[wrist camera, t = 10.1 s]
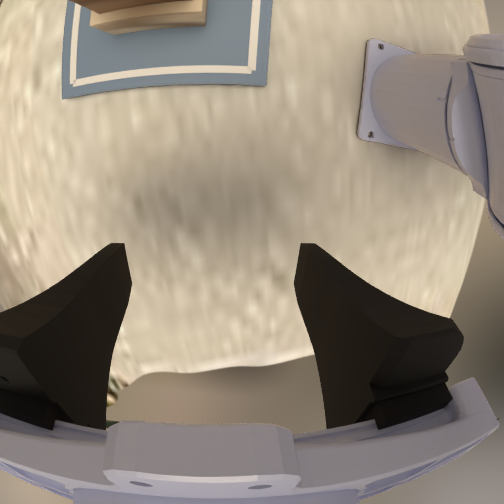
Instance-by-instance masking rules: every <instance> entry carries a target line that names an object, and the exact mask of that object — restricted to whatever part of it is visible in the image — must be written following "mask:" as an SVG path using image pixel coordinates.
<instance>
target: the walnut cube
mask: <svg viewBox="0 0 504 504" xmlns="http://www.w3.org/2000/svg"><path fill="white" fill-rule="evenodd" d="M69 1H72V2H74V3H76V4H79V5H81V6H83V7H85V8H88V9H90V10H92V11H94V12H96V13H98V14H102V13H106V12H111V11H115V10H120V9H125V8H131V7H136V6H143V5H149V4H157V3H166V2H176V1H190V0H69Z"/></svg>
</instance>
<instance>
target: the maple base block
mask: <svg viewBox="0 0 504 504" xmlns="http://www.w3.org/2000/svg"><path fill="white" fill-rule="evenodd" d="M207 7H208V0H190V1H176V2H166V3H157V4H149V5H143V6H136V7H131V8H125V9H120V10H115V11H111V12H106V13H102V14H98V13H96V12H94V11H92V10H91V18H90V26H91V27H94V28H97V29H99V30H102V31H105V32H107V33H110V34H113V35H118V34H124V33H130V32H137V31H145V30H153V29H164V28H177V27H200V26H206V19H207Z"/></svg>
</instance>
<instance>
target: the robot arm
mask: <svg viewBox="0 0 504 504" xmlns="http://www.w3.org/2000/svg"><path fill="white" fill-rule="evenodd" d="M378 44H380V45H381V47H382V49H381V50H380V49H379V48H378ZM463 52H464V55H451V54H417V53H414V52H412V51H409V50H406V49H404V48H401V47H398V46H395V45H393V44H390V43H387V42H384V41H380V40H377V39H370V40H368V41H367V49H366V62H365V73H364V83H363V92H362V101H361V109H360V116H359V124H358V131H357V135H358V137H359V138H360V139H362V140H366V141H372V142H378V143H383V144H388V145H393V146H398V147H403V148H408V149H412V150H417V151H421V152H423V153H425V154H427V155H429V156H431V157H433V158H435V159H437V160H439V161H441V162H443V163H445V164H447V165H449V166H451V167H453V168H454V169H456V170H458V171H460V172H462V173H463V174H465V175H467V176H468V177H469V178H470V180H471V182H472V186H473V191H475V192H476V193H478V194H479V195H481V196H482V197H484V198H485V199H487V213H488V218H489V221H490V223H491V225H492V227H493V228H494V230H495V231H496V232H497V233H498V234H499V236H501V237H502V238H503V239H504V34H481V35H474V36H471V37H470V38H469V40H468V42H467V44H466V45H464V46H463ZM369 132H372V135H371V137H368V133H369ZM131 287H132V280H131V276H130V271H129V266H128V261H127V256H126V250H125V245H124V243H110V244H109V245H107V246H106V247H104V248H103V249H102V250H100V251H99V252H98V253H96V254H95V255H94V256H93V257H91V258H90V259H89V260H87V261H86V262H85V263H84V264H82V265H81V266H80V267H79V268H77V269H76V270H74V271H73V272H72V273H70V274H69V275H68V276H66V277H65V278H64V279H62V280H61V281H60V282H58V283H57V284H55V285H54V286H52V287H50V288H49V289H47V290H46V291H44V292H42V293H41V294H39V295H37V296H35V297H33V298H31V299H29V300H27V301H26V302H24V303H22V304H19V305H17V306H15V307H13V308H10V309H8V310H6V311H3V312H1V313H0V469H2V470H3V471H5V472H7V473H9V474H11V475H13V476H16V477H18V478H20V479H22V480H24V481H26V482H28V483H30V484H33V485H35V486H37V487H40V488H43V489H45V490H47V491H50V492H52V493H55V494H57V495H60V496H63V497H66V498H69V499H72V500H74V501H73V504H360V503H359V500H362V499H365V498H368V497H371V496H374V495H377V494H380V493H382V492H385V491H388V490H390V489H393V488H395V487H398V486H400V485H402V484H405V483H407V482H409V481H412V480H414V479H416V478H418V477H420V476H423V475H425V474H427V473H429V472H431V471H433V470H435V469H437V468H439V467H441V466H443V465H445V464H447V463H449V462H450V461H452V460H454V459H456V458H458V457H460V456H461V455H463V454H464V453H466V452H467V451H468V450H470V449H471V448H472V447H474V446H475V445H477V444H478V443H479V442H481V441H482V440H483V439H485V438H486V437H487V436H488V435H490V434H491V433H492V432H493V431H494V430H495V429H497V428H498V427H499V423H498V421H497V419H496V417H495V415H494V413H493V411H492V409H491V407H490V405H489V403H488V402H487V400H486V398H485V396H484V394H483V392H482V391H481V389H480V387H479V385H478V383H477V382H476V380H475V378H473V377H472V378H469V379H467V380H464V381H462V382H460V383H457V384H455V385H453V386H452V387H451V388H449V389H448V388H447V386H446V384H445V382H447V381H448V376H447V374H446V373H445V370H446V369H447V368H448V367H449V365H450V364H451V363H452V361H453V360H454V359H455V357H456V356H457V355H458V352H459V351H460V350H461V347H462V344H463V341H464V336H463V335H462V333H461V331H460V330H459V328H458V327H457V326H456V324H455V323H454V322H453V320H452V319H450V318H446V317H443V316H439V315H436V314H432V313H429V312H426V311H424V310H421V309H418V308H416V307H413V306H411V305H408V304H406V303H404V302H402V301H400V300H398V299H396V298H394V297H391V296H390V295H388V294H386V293H384V292H382V291H381V290H379V289H377V288H375V287H374V286H372V285H370V284H369V283H367V282H366V281H364V280H363V279H361V278H360V277H359V276H357V275H356V274H354V273H353V272H352V271H350V270H349V269H348V268H346V267H345V266H344V265H342V264H341V263H340V262H339V261H337V260H336V259H335V258H333V257H332V256H331V255H330V254H328V253H327V252H326V251H325V250H323V249H322V248H321V247H319V246H318V245H316V244H315V243H301V245H300V251H299V257H298V263H297V268H296V274H295V280H294V287H295V292H296V297H297V302H298V305H299V308H300V311H301V314H302V317H303V320H304V323H305V326H306V328H307V331H308V334H309V337H310V340H311V343H312V346H313V349H314V353H315V357H316V361H317V367H318V371H319V376H320V382H321V388H322V394H323V401H324V409H325V417H326V427H327V429H325V430H320V431H313V432H307V433H300V434H292V432H291V430H289V429H287V428H284V427H281V426H278V425H275V424H268V423H267V424H266V423H237V424H185V423H164V422H151V421H121V422H119V423H117V424H115V425H112V426H110V427H109V428H108V431H106V404H107V390H108V381H109V372H110V366H111V360H112V354H113V350H114V346H115V343H116V339H117V336H118V333H119V330H120V327H121V324H122V321H123V318H124V315H125V312H126V309H127V306H128V302H129V297H130V292H131Z"/></svg>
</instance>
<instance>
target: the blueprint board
mask: <svg viewBox="0 0 504 504" xmlns="http://www.w3.org/2000/svg"><path fill="white" fill-rule="evenodd" d="M272 1H273V0H208V7H207V19H206V26H200V27H177V28H164V29H153V30H145V31H137V32H130V33H124V34H118V35H113V34H110V33H107V32H105V31H102V30H99V29H97V28H94V27H91V26H90V18H91V10H90V9H88V8H85V7H83V6H81V5H79V4H76V3H74V2H72V1H69V0H68V2H67V9H66V17H65V26H64V37H63V53H62V99H68V98H73V97H78V96H83V95H88V94H94V93H100V92H107V91H114V90H121V89H130V88H139V87H150V86H163V85H183V84H237V85H257V86H266V84H267V70H268V56H269V43H270V29H271V15H272Z"/></svg>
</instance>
